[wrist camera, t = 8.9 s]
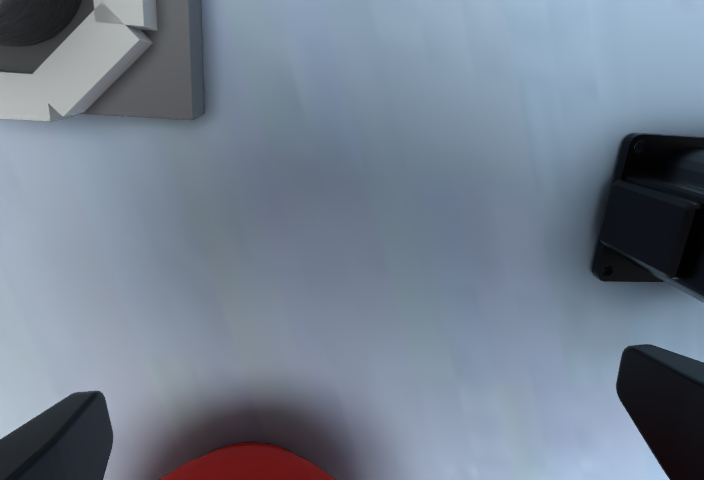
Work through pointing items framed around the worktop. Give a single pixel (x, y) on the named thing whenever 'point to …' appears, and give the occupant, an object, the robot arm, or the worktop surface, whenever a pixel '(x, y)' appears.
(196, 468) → the ceramic cup
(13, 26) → the lens
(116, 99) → the camera body mount
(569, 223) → the worktop surface
